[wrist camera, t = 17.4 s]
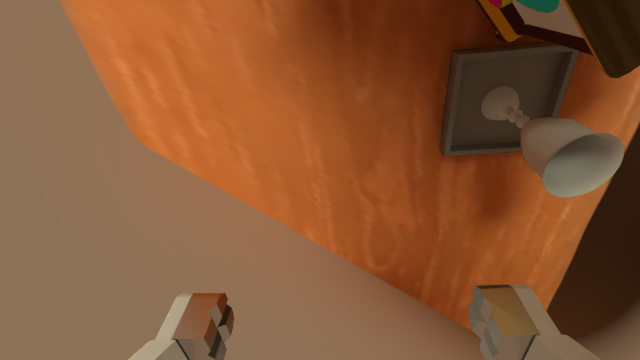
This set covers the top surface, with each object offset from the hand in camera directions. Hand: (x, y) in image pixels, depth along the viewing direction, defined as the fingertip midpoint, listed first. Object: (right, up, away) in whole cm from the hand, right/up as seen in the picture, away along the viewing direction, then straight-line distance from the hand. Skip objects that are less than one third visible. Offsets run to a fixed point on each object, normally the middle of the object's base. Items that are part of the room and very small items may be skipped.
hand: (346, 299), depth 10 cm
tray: (+25, +16, +35) cm, 46 cm away
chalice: (+25, +15, +35) cm, 46 cm away
